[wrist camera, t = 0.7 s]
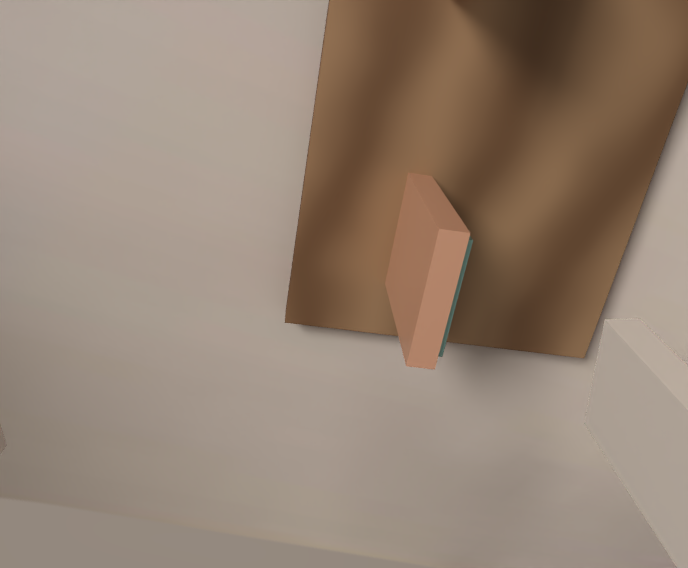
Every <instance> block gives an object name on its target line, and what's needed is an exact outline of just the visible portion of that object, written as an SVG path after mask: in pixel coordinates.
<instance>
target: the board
mask: <svg viewBox="0 0 688 568" xmlns="http://www.w3.org/2000/svg"><path fill="white" fill-rule="evenodd" d="M687 83H688V0H329V5H328V12H327V19H326V26H325V33H324V40H323V48H322V55H321V62H320V69H319V76H318V83H317V90H316V98H315V105H314V112H313V119H312V126H311V133H310V141H309V148H308V155H307V162H306V169H305V176H304V184H303V191H302V198H301V205H300V212H299V219H298V226H297V234H296V241H295V248H294V255H293V262H292V269H291V277H290V284H289V291H288V298H287V305H286V315H285V323H293V324H302V325H310V326H319V327H327V328H335V329H344V330H352V331H360V332H369V333H377V334H385V335H394V336H398V332H397V328H396V324H395V321H394V317H393V313H392V309H391V305H390V301H389V297H388V293H387V290H386V286H385V281H386V276H387V272H388V267H389V262H390V257H391V252H392V248H393V243H394V238H395V233H396V229H397V224H398V219H399V214H400V210H401V205H402V200H403V195H404V190H405V186H406V181H407V176H408V173H415V174H421V175H428V176H432V177H433V178H434V180H435V181H436V183H437V184H438V185H439V187H440V188H441V190H442V191H443V193H444V194H445V196H446V197H447V199H448V200H449V202H450V203H451V205H452V206H453V208H454V209H455V211H456V212H457V214H458V215H459V217H460V218H461V220H462V221H463V223H464V224H465V226H466V227H467V229H468V230H469V232H470V236H471V238H472V239H473V243H472V246H471V250H470V254H469V258H468V261H467V265H466V269H465V273H464V277H463V280H462V284H461V288H460V292H459V295H458V299H457V303H456V307H455V310H454V314H453V318H452V322H451V325H450V329H449V333H448V337H447V341H446V342H452V343H461V344H469V345H477V346H486V347H494V348H502V349H511V350H519V351H528V352H536V353H544V354H553V355H561V356H569V357H578V358H584V357H585V355H586V352H587V349H588V347H589V344H590V341H591V339H592V336H593V333H594V331H595V328H596V325H597V323H598V320H599V317H600V315H601V312H602V309H603V307H604V304H605V301H606V299H607V296H608V293H609V291H610V288H611V285H612V283H613V280H614V277H615V275H616V272H617V269H618V267H619V264H620V261H621V259H622V256H623V253H624V251H625V248H626V245H627V243H628V240H629V237H630V235H631V232H632V229H633V227H634V224H635V221H636V219H637V216H638V213H639V211H640V208H641V205H642V203H643V200H644V197H645V195H646V192H647V190H648V187H649V184H650V182H651V179H652V176H653V174H654V171H655V168H656V166H657V163H658V160H659V158H660V155H661V152H662V150H663V147H664V144H665V142H666V139H667V136H668V134H669V131H670V128H671V126H672V123H673V120H674V118H675V115H676V112H677V110H678V107H679V104H680V102H681V99H682V96H683V94H684V91H685V88H686V86H687Z"/></svg>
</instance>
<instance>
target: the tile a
mask: <svg viewBox="0 0 688 568" xmlns="http://www.w3.org/2000/svg"><path fill="white" fill-rule="evenodd" d="M472 243H473V239H472V238H471V236H470V232H469V230H468V229H467V227H466V226H465V224H464V223H463V221H462V220H461V218H460V217H459V215H458V214H457V212H456V211H455V209H454V208H453V206H452V205H451V203H450V202H449V200H448V199H447V197H446V196H445V194H444V193H443V191H442V190H441V188H440V187H439V185H438V184H437V183H436V181H435V180H434V178H433V177H432V176H428V175H421V174H415V173H408V176H407V181H406V186H405V190H404V195H403V200H402V205H401V210H400V214H399V219H398V224H397V229H396V233H395V238H394V243H393V248H392V252H391V257H390V262H389V267H388V272H387V276H386V281H385V286H386V290H387V293H388V297H389V301H390V305H391V309H392V313H393V317H394V321H395V324H396V328H397V332H398V336H399V340H400V344H401V348H402V351H403V355H404V359H405V363H406V366H410V367H418V368H427V369H435V367H436V363H437V359H438V356H440V357H442V356H443V352H444V348H445V344H446V341H447V337H448V333H449V329H450V325H451V322H452V318H453V314H454V310H455V307H456V303H457V299H458V295H459V292H460V288H461V284H462V280H463V277H464V273H465V269H466V265H467V261H468V258H469V254H470V250H471V246H472Z"/></svg>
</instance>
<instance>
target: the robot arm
mask: <svg viewBox="0 0 688 568" xmlns="http://www.w3.org/2000/svg"><path fill="white" fill-rule="evenodd" d="M584 424H585V426H586V428H587V429H588V431H589V432H590V434H591V435H592V437H593V438H594V440H595V442H596V443H597V445H598V446H599V448H600V449H601V451H602V452H603V454H604V455H605V457H606V459H607V460H608V462H609V463H610V465H611V466H612V468H613V469H614V471H615V473H616V474H617V476H618V477H619V479H620V480H621V482H622V483H623V485H624V486H625V488H626V490H627V491H628V493H629V494H630V496H631V497H632V499H633V500H634V502H635V504H636V505H637V507H638V508H639V510H640V511H641V513H642V514H643V516H644V517H645V519H646V521H647V522H648V524H649V525H650V527H651V528H652V530H653V531H654V533H655V535H656V536H657V538H658V539H659V541H660V542H661V544H662V545H663V547H664V548H665V550H666V552H667V553H668V555H669V556H670V558H671V559H672V561H673V562H674V564H675V566H676V567H677V568H688V365H687V364H686V363H685V362H684V361H683V360H682V359H681V358H680V357H679V356H678V355H677V354H676V353H675V352H673V351H672V350H671V349H670V348H669V347H668V346H667V345H666V344H665V343H664V342H663V341H662V340H661V339H660V338H659V337H658V336H657V335H656V334H655V333H654V332H653V331H652V330H651V329H650V328H649V327H648V326H647V325H646V324H645V323H644V322H643V321H642V320H641V319H640V318H633V319H605V320H604V325H603V330H602V335H601V340H600V345H599V350H598V355H597V360H596V365H595V370H594V376H593V381H592V386H591V391H590V396H589V401H588V406H587V411H586V416H585V421H584ZM6 446H7V445H6V441H5V438H4V434H3V431H2V428H1V424H0V455H1V453H2V452H3V450H4V449H5V447H6Z"/></svg>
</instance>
